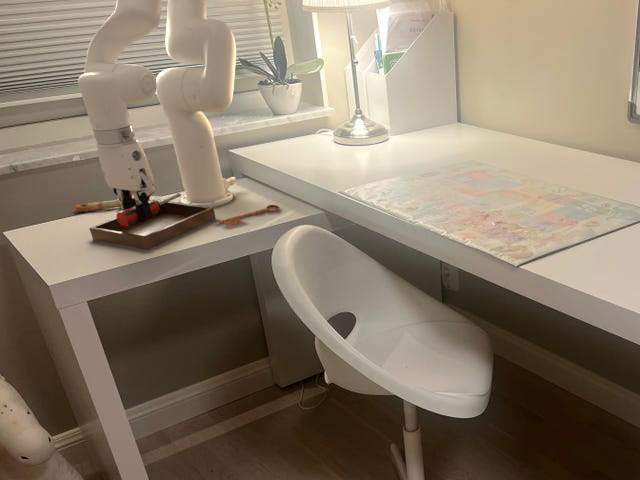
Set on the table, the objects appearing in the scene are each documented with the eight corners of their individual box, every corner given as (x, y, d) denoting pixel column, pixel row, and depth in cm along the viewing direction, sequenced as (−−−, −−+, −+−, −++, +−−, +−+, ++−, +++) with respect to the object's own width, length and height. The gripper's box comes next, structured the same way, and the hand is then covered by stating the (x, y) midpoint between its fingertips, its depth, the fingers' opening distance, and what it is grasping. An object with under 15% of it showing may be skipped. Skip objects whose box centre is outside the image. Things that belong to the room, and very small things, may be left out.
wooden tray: (164, 212, 177) (160, 199, 175) (216, 220, 171) (213, 207, 169) (93, 241, 161) (89, 227, 159) (148, 251, 155) (144, 237, 153)
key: (227, 229, 166) (286, 213, 174) (226, 226, 165) (286, 210, 174) (216, 221, 170) (275, 206, 178) (215, 217, 169) (274, 202, 177)
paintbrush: (158, 194, 180) (72, 205, 177) (161, 205, 181) (76, 216, 178) (160, 189, 183) (76, 200, 180) (164, 200, 184) (80, 211, 181)
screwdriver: (177, 200, 172) (172, 187, 170) (186, 201, 170) (182, 188, 169) (119, 226, 159) (114, 212, 157) (129, 227, 157) (124, 213, 156)
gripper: (157, 133, 151) (180, 217, 161) (101, 127, 158) (126, 208, 167) (129, 143, 146) (154, 229, 155) (72, 136, 152) (99, 220, 162)
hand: (139, 218), depth 161 cm, fingers closed on screwdriver, 3 cm apart
